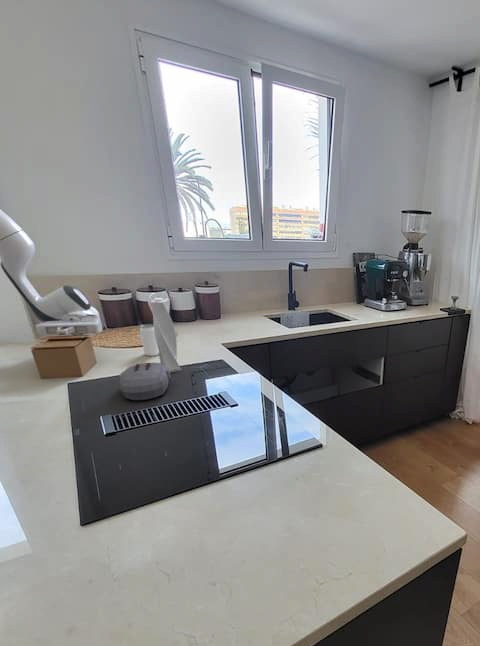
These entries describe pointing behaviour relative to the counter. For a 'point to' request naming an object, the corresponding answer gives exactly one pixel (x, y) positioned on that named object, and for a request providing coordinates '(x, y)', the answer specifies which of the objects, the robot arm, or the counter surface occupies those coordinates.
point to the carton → (64, 357)
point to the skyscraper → (164, 333)
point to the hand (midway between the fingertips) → (61, 332)
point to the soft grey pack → (144, 381)
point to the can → (149, 340)
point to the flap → (65, 337)
